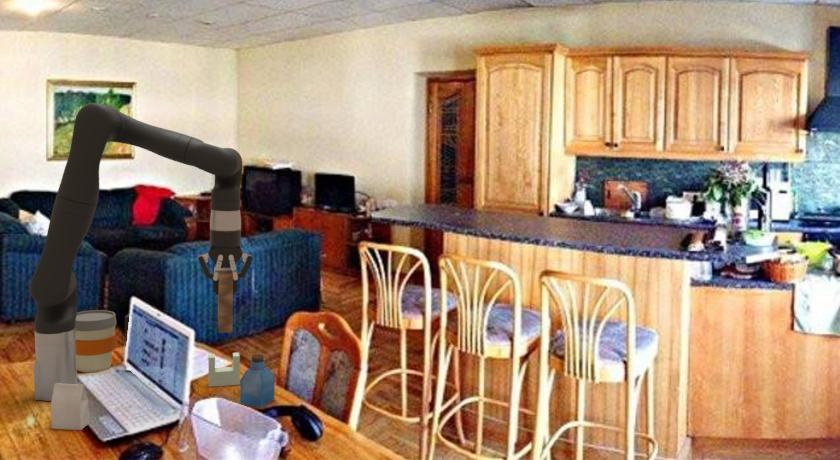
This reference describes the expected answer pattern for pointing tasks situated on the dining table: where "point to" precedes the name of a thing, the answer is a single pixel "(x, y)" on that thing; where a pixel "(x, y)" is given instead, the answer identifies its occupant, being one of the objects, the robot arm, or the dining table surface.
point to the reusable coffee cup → (94, 339)
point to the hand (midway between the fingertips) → (225, 293)
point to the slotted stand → (224, 372)
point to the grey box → (69, 407)
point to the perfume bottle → (257, 383)
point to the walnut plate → (225, 300)
